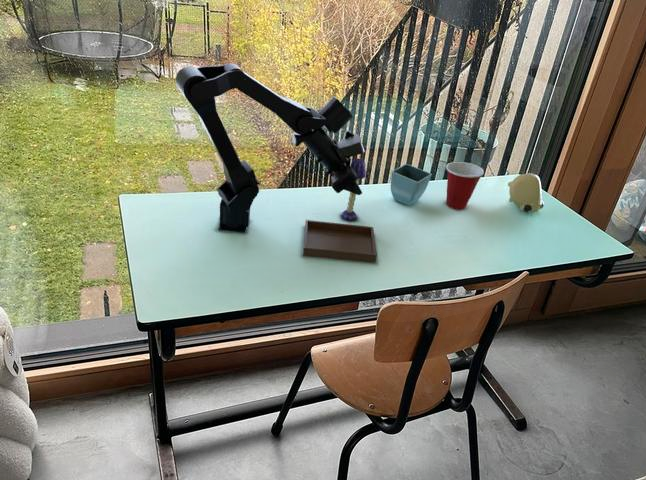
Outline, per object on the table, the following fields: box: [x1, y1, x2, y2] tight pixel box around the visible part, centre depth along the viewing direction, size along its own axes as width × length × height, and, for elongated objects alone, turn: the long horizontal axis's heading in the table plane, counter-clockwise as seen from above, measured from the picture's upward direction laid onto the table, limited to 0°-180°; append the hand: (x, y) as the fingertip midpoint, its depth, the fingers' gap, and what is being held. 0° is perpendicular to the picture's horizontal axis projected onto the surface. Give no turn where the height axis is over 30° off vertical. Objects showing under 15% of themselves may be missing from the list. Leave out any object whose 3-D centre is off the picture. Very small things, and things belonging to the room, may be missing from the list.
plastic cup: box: [445, 161, 485, 211], centre depth 164 cm, size 11×11×12 cm
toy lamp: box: [340, 157, 367, 222], centre depth 146 cm, size 5×5×17 cm
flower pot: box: [390, 163, 432, 207], centre depth 162 cm, size 9×9×9 cm
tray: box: [302, 219, 378, 264], centre depth 138 cm, size 17×13×2 cm
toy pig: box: [507, 173, 545, 214], centre depth 171 cm, size 10×12×11 cm
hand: (359, 189), depth 146 cm, fingers open, 5 cm apart
